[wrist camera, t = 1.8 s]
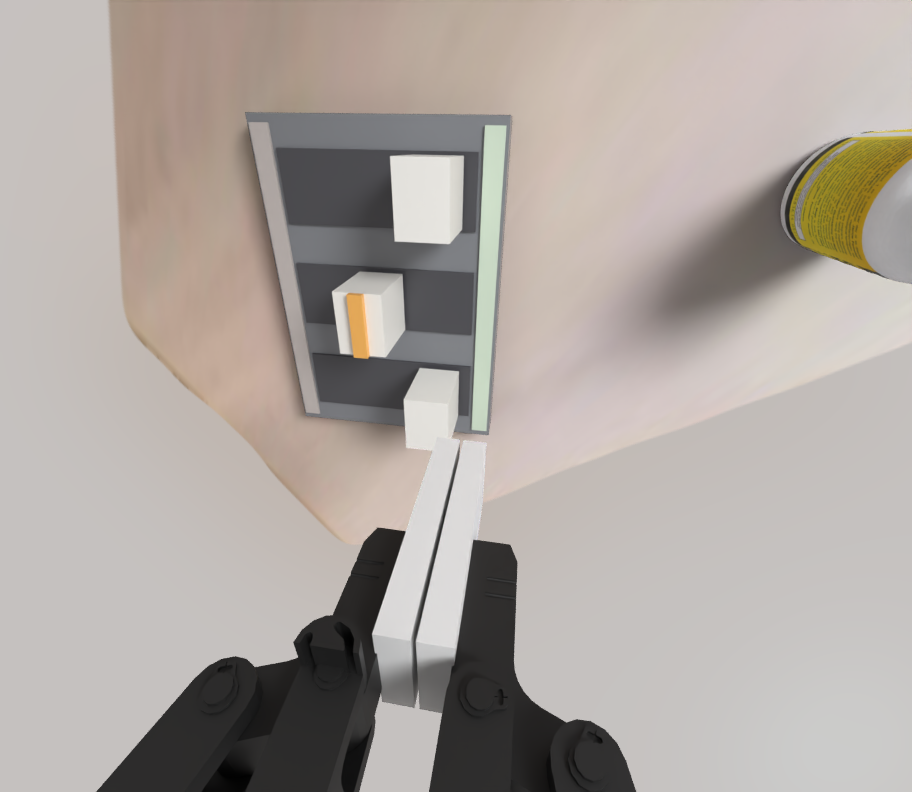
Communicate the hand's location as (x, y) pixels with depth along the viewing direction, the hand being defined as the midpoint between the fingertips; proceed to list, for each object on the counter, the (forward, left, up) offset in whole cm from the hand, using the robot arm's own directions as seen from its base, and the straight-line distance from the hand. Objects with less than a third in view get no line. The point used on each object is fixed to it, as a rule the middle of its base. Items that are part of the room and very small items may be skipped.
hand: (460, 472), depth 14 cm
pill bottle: (-7, +19, -20) cm, 28 cm away
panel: (0, -8, -19) cm, 21 cm away
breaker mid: (0, -8, -17) cm, 19 cm away
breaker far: (+7, -4, -17) cm, 19 cm away
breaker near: (-7, -4, -17) cm, 19 cm away
